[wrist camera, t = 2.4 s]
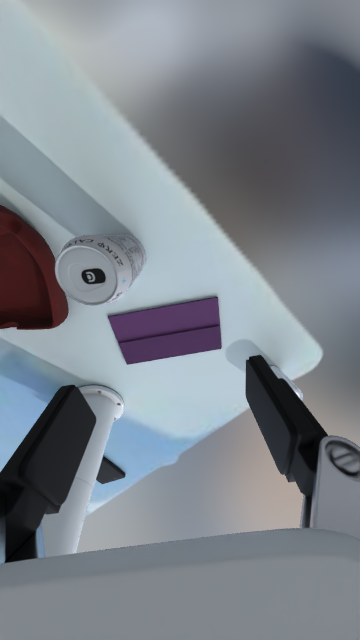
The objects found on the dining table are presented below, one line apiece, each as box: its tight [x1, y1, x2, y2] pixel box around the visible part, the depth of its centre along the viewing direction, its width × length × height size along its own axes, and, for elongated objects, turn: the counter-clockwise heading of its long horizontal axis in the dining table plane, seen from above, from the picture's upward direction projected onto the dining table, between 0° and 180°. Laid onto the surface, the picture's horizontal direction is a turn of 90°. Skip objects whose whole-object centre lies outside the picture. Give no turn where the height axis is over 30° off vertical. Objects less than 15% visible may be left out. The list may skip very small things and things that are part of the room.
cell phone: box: [96, 457, 125, 484], centre depth 53 cm, size 9×18×1 cm, turn 24°
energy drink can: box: [55, 234, 146, 305], centre depth 21 cm, size 6×6×15 cm
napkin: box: [108, 297, 222, 365], centre depth 34 cm, size 20×11×1 cm, turn 99°
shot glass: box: [270, 366, 303, 401], centre depth 37 cm, size 7×7×7 cm
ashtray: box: [0, 205, 68, 330], centre depth 26 cm, size 18×16×5 cm
